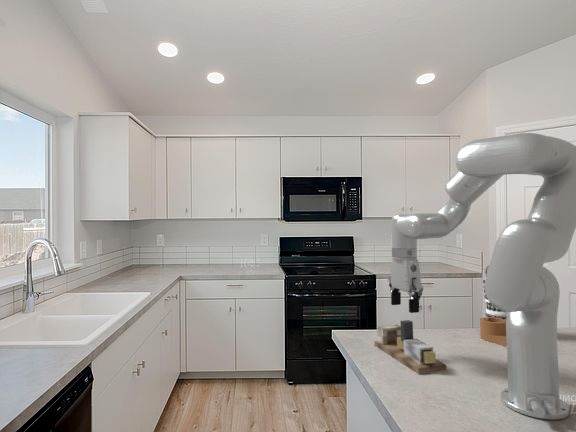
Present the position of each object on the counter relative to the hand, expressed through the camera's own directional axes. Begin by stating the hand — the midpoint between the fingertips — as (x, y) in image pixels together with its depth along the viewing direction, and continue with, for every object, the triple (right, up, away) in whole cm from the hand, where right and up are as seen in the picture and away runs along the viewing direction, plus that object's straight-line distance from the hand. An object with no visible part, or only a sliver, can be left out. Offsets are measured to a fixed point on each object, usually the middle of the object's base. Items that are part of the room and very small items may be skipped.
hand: (404, 308), depth 111 cm
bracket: (+38, -15, +10) cm, 42 cm away
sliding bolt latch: (+1, -15, -1) cm, 15 cm away
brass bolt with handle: (+2, -12, -5) cm, 13 cm away
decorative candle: (+42, -15, +20) cm, 49 cm away
